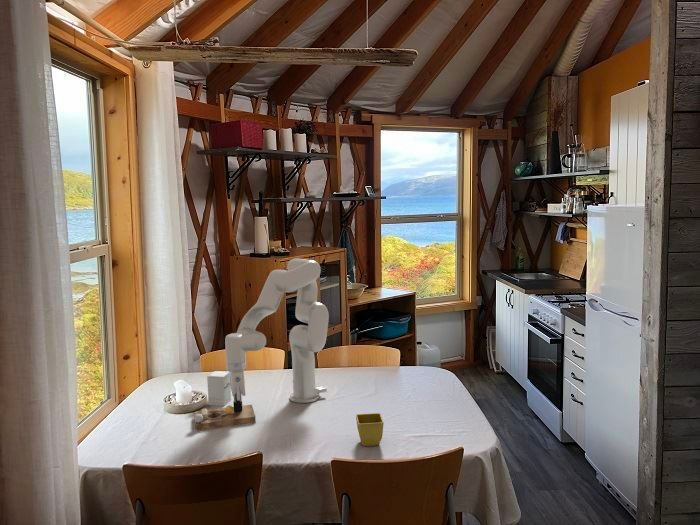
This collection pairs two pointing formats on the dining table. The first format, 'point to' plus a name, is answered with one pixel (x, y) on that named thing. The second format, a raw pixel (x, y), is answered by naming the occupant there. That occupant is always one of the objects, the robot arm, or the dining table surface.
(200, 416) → the grey ball
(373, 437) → the flower pot
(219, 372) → the supplement box
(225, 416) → the board
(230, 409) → the ball
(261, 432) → the dining table surface
